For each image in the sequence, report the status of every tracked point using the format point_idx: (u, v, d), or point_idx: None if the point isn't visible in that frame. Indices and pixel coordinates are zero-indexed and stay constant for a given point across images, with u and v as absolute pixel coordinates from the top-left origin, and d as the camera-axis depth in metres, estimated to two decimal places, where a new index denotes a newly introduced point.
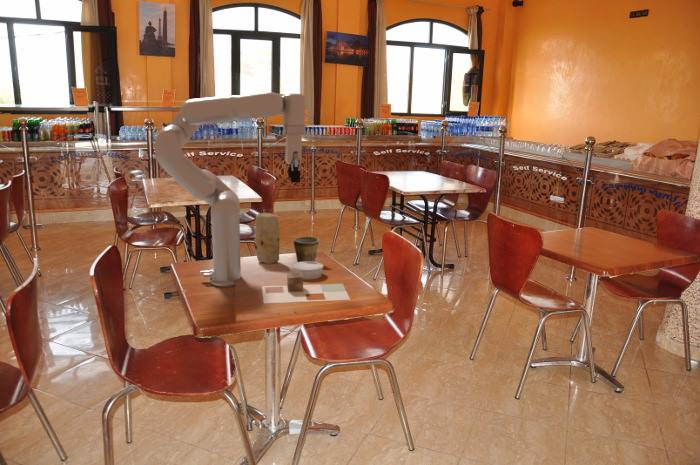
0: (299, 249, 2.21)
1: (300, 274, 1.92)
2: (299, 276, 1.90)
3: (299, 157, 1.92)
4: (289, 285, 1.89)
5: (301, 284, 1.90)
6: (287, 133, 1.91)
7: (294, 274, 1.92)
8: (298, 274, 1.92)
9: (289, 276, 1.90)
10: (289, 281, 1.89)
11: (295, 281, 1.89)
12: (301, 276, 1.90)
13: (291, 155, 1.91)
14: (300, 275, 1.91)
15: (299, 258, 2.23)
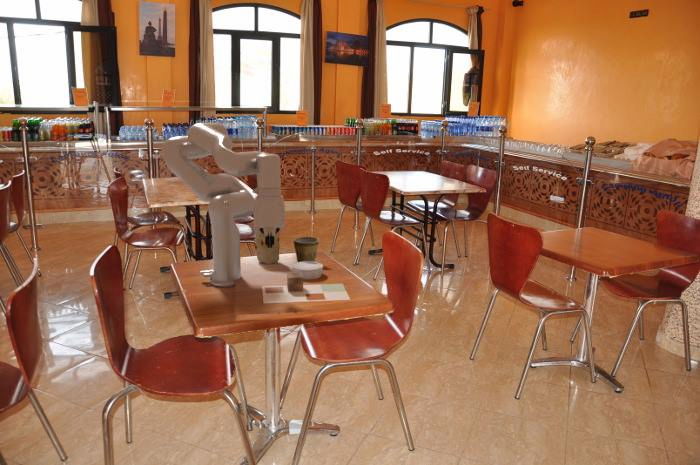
0: (299, 249, 2.21)
1: (300, 274, 1.92)
2: (299, 276, 1.90)
3: None
4: (289, 285, 1.89)
5: (301, 284, 1.90)
6: (278, 196, 1.81)
7: (294, 274, 1.92)
8: (298, 274, 1.92)
9: (289, 276, 1.90)
10: (289, 281, 1.89)
11: (295, 281, 1.89)
12: (301, 276, 1.90)
13: None
14: (300, 275, 1.91)
15: (299, 258, 2.23)
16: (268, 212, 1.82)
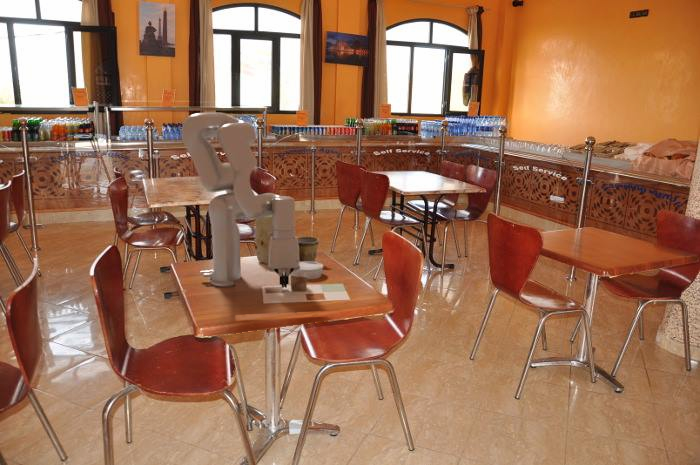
0: (299, 249, 2.21)
1: (304, 274, 1.92)
2: (302, 276, 1.90)
3: None
4: (292, 285, 1.89)
5: (304, 284, 1.90)
6: (292, 237, 1.85)
7: (298, 274, 1.92)
8: (301, 274, 1.92)
9: (292, 276, 1.90)
10: (292, 281, 1.89)
11: (298, 281, 1.89)
12: (304, 276, 1.90)
13: None
14: (303, 275, 1.91)
15: (299, 258, 2.23)
16: (283, 253, 1.86)
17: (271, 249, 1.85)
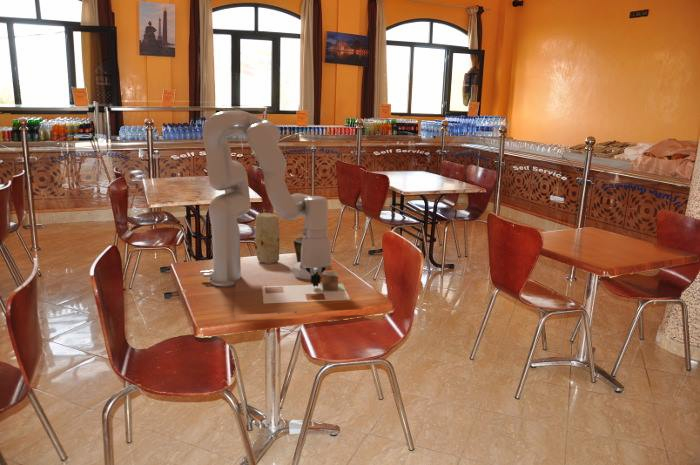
0: (299, 249, 2.21)
1: (335, 273, 1.94)
2: (334, 275, 1.92)
3: None
4: (324, 284, 1.91)
5: (336, 283, 1.92)
6: (325, 237, 1.87)
7: (329, 273, 1.94)
8: (333, 273, 1.94)
9: (324, 275, 1.92)
10: (324, 280, 1.91)
11: (330, 280, 1.91)
12: (336, 275, 1.92)
13: None
14: (335, 274, 1.93)
15: (299, 258, 2.23)
16: (315, 253, 1.88)
17: (304, 248, 1.87)
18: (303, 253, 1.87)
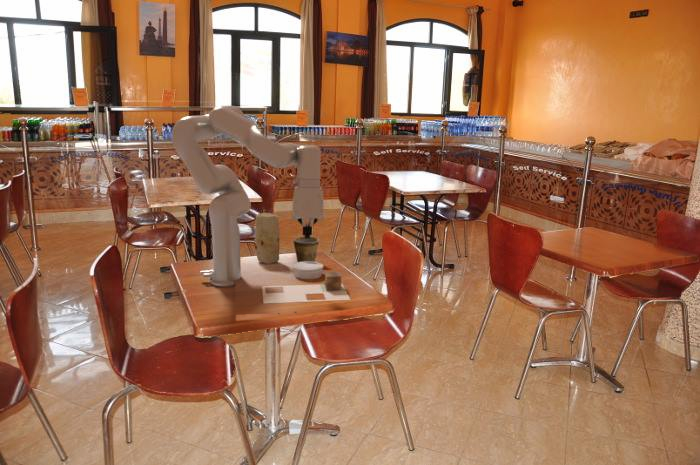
0: (299, 249, 2.21)
1: (338, 273, 1.94)
2: (337, 275, 1.92)
3: None
4: (327, 284, 1.91)
5: (339, 283, 1.92)
6: (317, 187, 1.84)
7: (332, 273, 1.94)
8: (335, 273, 1.94)
9: (327, 275, 1.92)
10: (327, 280, 1.91)
11: (333, 280, 1.91)
12: (339, 275, 1.92)
13: (323, 208, 1.87)
14: (338, 274, 1.93)
15: (299, 258, 2.23)
16: (307, 203, 1.85)
17: (296, 198, 1.84)
18: (295, 203, 1.84)
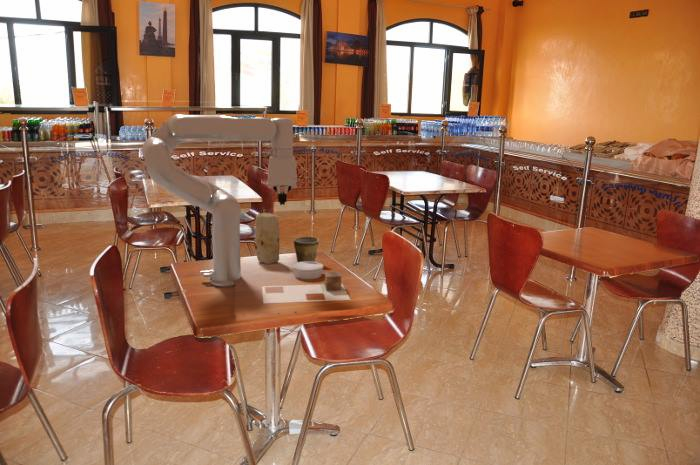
0: (299, 249, 2.21)
1: (338, 273, 1.94)
2: (337, 275, 1.92)
3: None
4: (327, 284, 1.91)
5: (339, 283, 1.92)
6: (290, 156, 1.99)
7: (332, 273, 1.94)
8: (335, 273, 1.94)
9: (327, 275, 1.92)
10: (327, 280, 1.91)
11: (333, 280, 1.91)
12: (339, 275, 1.92)
13: (296, 176, 2.02)
14: (338, 274, 1.93)
15: (299, 258, 2.23)
16: (281, 171, 1.99)
17: (270, 167, 1.98)
18: (270, 171, 1.99)
